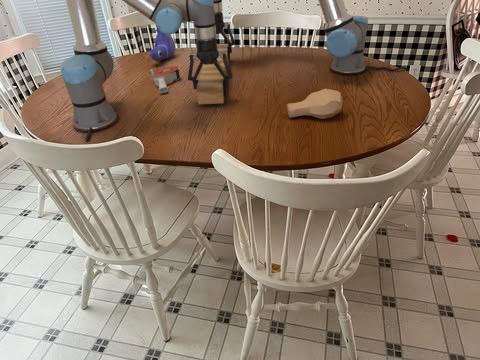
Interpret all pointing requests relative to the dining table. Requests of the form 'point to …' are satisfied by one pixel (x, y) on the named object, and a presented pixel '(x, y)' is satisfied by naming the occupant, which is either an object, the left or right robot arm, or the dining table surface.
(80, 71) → the left robot arm
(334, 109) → the squash
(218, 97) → the slab
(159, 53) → the toy
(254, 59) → the dining table surface
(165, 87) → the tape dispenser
